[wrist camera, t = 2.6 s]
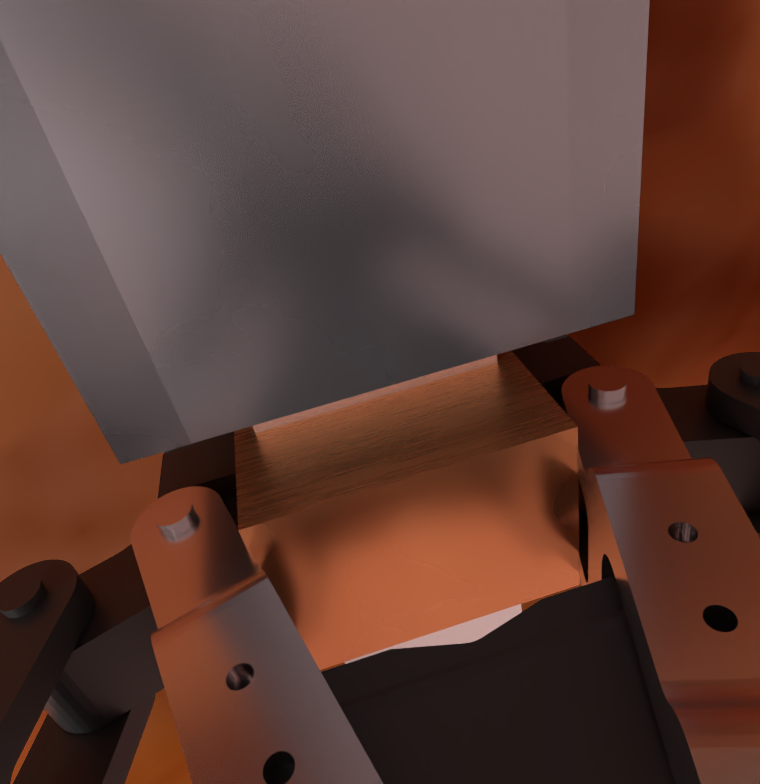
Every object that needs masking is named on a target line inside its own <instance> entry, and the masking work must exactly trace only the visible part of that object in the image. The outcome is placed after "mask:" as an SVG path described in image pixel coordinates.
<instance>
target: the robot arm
mask: <svg viewBox="0 0 760 784" xmlns="http://www.w3.org/2000/svg"><path fill="white" fill-rule="evenodd" d="M511 351H512V352H513V353H514V354H515V355H516V357H517V358H518V359H519V360H520V361H521V362H522V363H523V365H524V366H525V367H526V368H527V369H528V370H529V371H530V373H531V374H532V375H533V376H534V377H535V378H536V379H537V381H538V382H539V383H540V384H541V385H542V386H543V387H544V389H545V390H546V391H547V392H548V393H549V394H550V395H551V397H552V398H553V399H554V400H555V401H556V402H557V403H558V405H559V406H560V407H561V408H562V409H563V410H564V411H565V413H566V414H567V415H568V416H569V417H570V418H571V419H572V421H573V422H574V423H575V424H576V425H577V426H578V446H577V474H578V487H579V551H578V571H579V576H580V580H581V585H582V586H581V587H578V588H575V589H572V590H569V591H566V592H563V593H560V594H557V595H554V596H551V597H548V598H545V599H542V600H540V601H538V602H537V603H535V604H534V605H532V606H531V607H529V608H528V609H526V610H524V611H523V612H521V613H520V614H518V615H517V616H515V617H513V618H512V619H510V620H509V621H507V622H506V623H504V624H502V625H501V626H499V627H498V628H496V629H495V630H493V631H491V632H490V633H488V634H487V635H485V636H484V637H482V638H480V639H478V640H476V641H473V642H469V643H461V644H449V645H436V646H424V647H412V648H399V649H390V650H387V651H384V652H381V653H378V654H375V655H372V656H369V657H366V658H362V659H359V660H356V661H353V662H350V663H347V664H344V665H341V666H338V667H335V668H332V669H329V670H326V671H323V672H321V671H320V670H319V668H318V666H317V664H316V662H315V661H314V659H313V657H312V655H311V653H310V652H309V650H308V648H307V646H306V645H305V643H304V641H303V639H302V637H301V636H300V634H299V632H298V630H297V628H296V627H295V625H294V623H293V621H292V619H291V618H290V616H289V614H288V612H287V611H286V609H285V607H284V605H283V603H282V602H281V600H280V598H279V596H278V594H277V593H276V591H275V589H274V587H273V586H272V584H271V582H270V580H269V578H268V577H267V575H266V573H265V572H264V570H261V569H260V568H259V566H258V564H257V562H256V560H255V559H254V557H253V555H252V553H251V551H250V550H249V548H246V546H245V544H244V542H243V540H242V537H241V535H240V533H239V531H238V512H237V488H236V465H235V441H234V431H233V432H230V433H226V434H223V435H219V436H216V437H212V438H209V439H206V440H202V441H199V442H195V443H192V444H188V445H185V446H182V447H178V448H175V449H171V450H168V451H164V453H165V454H163V460H162V468H161V476H160V485H159V493H158V499H157V500H156V501H154V502H153V503H151V504H150V505H149V506H148V507H147V508H146V509H145V510H144V511H143V512H142V513H141V514H140V515H139V517H138V518H137V519H136V521H135V523H134V525H133V527H132V530H131V535H130V539H131V545H130V546H128V547H127V548H125V549H124V550H123V551H121V552H119V553H118V554H116V555H114V556H113V557H111V558H109V559H107V560H105V561H104V562H102V563H100V564H98V565H96V566H94V567H93V568H91V569H89V570H87V571H85V572H83V573H82V574H80V575H79V574H78V573H77V571H76V570H75V569H74V567H73V566H72V565H71V564H70V563H68V562H66V561H63V560H46V561H41V562H37V563H34V564H31V565H29V566H26V567H24V568H22V569H20V570H18V571H17V572H15V573H13V574H12V575H10V576H9V577H7V578H6V579H4V580H3V581H2V582H0V784H10V781H11V776H12V773H13V770H14V767H15V765H16V762H17V760H18V758H19V756H20V754H21V752H22V750H23V748H24V746H25V744H26V742H27V740H28V738H29V737H30V735H31V733H32V731H33V729H34V727H35V725H36V723H37V721H38V719H39V717H40V715H41V713H42V711H43V709H44V710H45V711H46V712H47V713H48V715H47V717H46V719H45V721H44V723H43V725H42V727H41V729H40V731H39V733H38V735H37V737H36V739H35V741H34V743H33V745H32V747H31V749H30V751H29V753H28V755H27V757H26V759H25V761H24V763H23V765H22V767H21V769H20V771H19V773H18V775H17V777H16V779H15V781H14V783H13V784H124V783H125V781H126V778H127V775H128V772H129V770H130V767H131V764H132V761H133V759H134V756H135V753H136V750H137V748H138V745H139V742H140V739H141V737H142V734H143V731H144V728H145V726H146V723H147V720H148V717H149V715H150V712H151V709H152V706H153V703H154V699H155V693H157V692H159V691H160V690H162V689H163V688H165V691H166V695H167V698H168V701H169V705H170V708H171V712H172V715H173V718H174V722H175V725H176V729H177V732H178V736H179V739H180V742H181V746H182V749H183V753H184V756H185V759H186V763H187V766H188V770H189V773H190V777H191V780H192V783H193V784H760V352H746V353H738V354H733V355H729V356H726V357H724V358H721V359H719V360H718V361H717V362H715V363H714V364H713V365H712V366H711V368H710V371H709V378H708V385H700V386H687V387H675V388H655V386H654V384H653V383H652V382H651V380H650V379H649V378H648V377H647V376H645V375H643V374H642V373H640V372H638V371H636V370H633V369H630V368H626V367H621V366H611V365H603V366H601V365H600V364H599V363H598V362H597V361H596V360H595V359H593V358H592V357H591V356H590V355H589V354H588V353H587V352H586V351H585V350H584V349H583V348H581V347H580V346H579V345H578V344H577V343H576V342H575V341H574V340H573V339H572V338H571V337H567V334H566V335H562V336H559V337H556V338H552V339H549V340H545V341H542V342H538V343H535V344H531V345H528V346H525V347H521V348H518V349H514V350H511Z"/></svg>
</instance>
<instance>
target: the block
mask: <svg viewBox="0 0 760 784" xmlns="http://www.w3.org/2000/svg"><path fill="white" fill-rule="evenodd" d="M649 3H650V0H0V253H1V255H2V257H3V259H4V260H5V262H6V264H7V266H8V267H9V269H10V271H11V273H12V274H13V276H14V278H15V280H16V281H17V283H18V285H19V287H20V289H21V290H22V292H23V294H24V296H25V297H26V299H27V301H28V303H29V304H30V306H31V308H32V310H33V311H34V313H35V315H36V317H37V318H38V320H39V322H40V324H41V325H42V327H43V329H44V331H45V332H46V334H47V336H48V338H49V339H50V341H51V343H52V345H53V346H54V348H55V350H56V352H57V353H58V355H59V357H60V359H61V360H62V362H63V364H64V366H65V367H66V369H67V371H68V373H69V374H70V376H71V378H72V380H73V381H74V383H75V385H76V387H77V388H78V390H79V392H80V394H81V395H82V397H83V399H84V401H85V402H86V404H87V406H88V408H89V409H90V411H91V413H92V415H93V416H94V418H95V420H96V422H97V424H98V425H99V427H100V429H101V431H102V432H103V434H104V436H105V438H106V439H107V441H108V443H109V445H110V446H111V448H112V450H113V452H114V453H115V455H116V457H117V459H118V460H119V462H120V464H123V463H127V462H130V461H134V460H137V459H140V458H144V457H147V456H151V455H154V454H158V453H161V452H164V451H168V450H171V449H175V448H178V447H182V446H185V445H188V444H192V443H195V442H199V441H202V440H206V439H209V438H212V437H216V436H219V435H223V434H226V433H230V432H233V431H236V430H240V429H243V428H247V427H250V426H254V425H257V424H260V423H264V422H267V421H271V420H274V419H278V418H281V417H284V416H288V415H291V414H295V413H298V412H302V411H305V410H309V409H312V408H315V407H319V406H322V405H326V404H329V403H333V402H336V401H339V400H343V399H346V398H350V397H353V396H357V395H360V394H363V393H367V392H370V391H374V390H377V389H381V388H384V387H387V386H391V385H394V384H398V383H401V382H405V381H408V380H411V379H415V378H418V377H422V376H425V375H429V374H432V373H435V372H439V371H442V370H446V369H449V368H453V367H456V366H459V365H463V364H466V363H470V362H473V361H477V360H480V359H483V358H487V357H490V356H494V355H497V354H501V353H504V352H507V351H511V350H514V349H518V348H521V347H525V346H528V345H531V344H535V343H538V342H542V341H545V340H549V339H552V338H556V337H559V336H562V335H566V334H569V333H573V332H576V331H580V330H583V329H586V328H590V327H593V326H597V325H600V324H604V323H607V322H610V321H614V320H617V319H621V318H624V317H628V316H631V315H634V310H635V290H636V269H637V249H638V228H639V208H640V188H641V167H642V147H643V126H644V106H645V85H646V65H647V44H648V24H649Z"/></svg>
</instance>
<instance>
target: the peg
mask: <svg viewBox="0 0 760 784" xmlns="http://www.w3.org/2000/svg"><path fill="white" fill-rule="evenodd" d="M234 441H235V465H236V488H237V512H238V531H239V533H240V535H241V537H242V540H243V542H244V544H245V546H246V548H249V550H250V551H251V553H252V555H253V557H254V559H255V560H256V562H257V564H258V566H259V568H260V569H261V570H264V572H265V573H266V575H267V577H268V578H269V580H270V582H271V584H272V586H273V587H274V589H275V591H276V593H277V594H278V596H279V598H280V600H281V602H282V603H283V605H284V607H285V609H286V611H287V612H288V614H289V616H290V618H291V619H292V621H293V623H294V625H295V627H296V628H297V630H298V632H299V634H300V636H301V637H302V639H303V641H304V643H305V645H306V646H307V648H308V650H309V652H310V653H311V655H312V657H313V659H314V661H315V662H316V664H317V666H318V668H319V670H321V669H324V668H327V667H330V666H333V665H336V664H339V663H343V662H345V664H347V663H350V662H353V661H356V660H359V659H362V658H366V657H369V656H372V655H375V654H378V653H381V652H384V651H387V650H390V649H399V648H412V647H424V646H436V645H449V644H461V643H469V642H473V641H476V640H478V639H480V638H482V637H484V636H485V635H487V634H488V633H490V632H491V631H493V630H495V629H496V628H498V627H499V626H501V625H502V624H504V623H506V622H507V621H509V620H510V619H512V618H513V617H515V616H517V615H518V614H520V613H521V612H522V609H521V604H522V603H525V602H528V601H531V600H534V599H537V598H540V597H543V596H546V595H549V594H552V593H555V592H559V591H562V590H565V589H568V588H571V587H574V586H577V585H580V581H579V571H578V551H579V487H578V474H577V446H578V426H577V425H576V424H575V423H574V422H573V421H572V419H571V418H570V417H569V416H568V415H567V414H566V413H565V411H564V410H563V409H562V408H561V407H560V406H559V405H558V403H557V402H556V401H555V400H554V399H553V398H552V397H551V395H550V394H549V393H548V392H547V391H546V390H545V389H544V387H543V386H542V385H541V384H540V383H539V382H538V381H537V379H536V378H535V377H534V376H533V375H532V374H531V373H530V371H529V370H528V369H527V368H526V367H525V366H524V365H523V363H522V362H521V361H520V360H519V359H518V358H517V357H516V355H515V354H514V353H513V352H512V351H507V352H504V353H501V354H497V355H494V356H490V357H487V358H483V359H480V360H477V361H473V362H470V363H466V364H463V365H459V366H456V367H453V368H449V369H446V370H442V371H439V372H435V373H432V374H429V375H425V376H422V377H418V378H415V379H411V380H408V381H405V382H401V383H398V384H394V385H391V386H387V387H384V388H381V389H377V390H374V391H370V392H367V393H363V394H360V395H357V396H353V397H350V398H346V399H343V400H339V401H336V402H333V403H329V404H326V405H322V406H319V407H315V408H312V409H309V410H305V411H302V412H298V413H295V414H291V415H288V416H284V417H281V418H278V419H274V420H271V421H267V422H264V423H260V424H257V425H254V426H250V427H247V428H243V429H240V430H236V431H234Z"/></svg>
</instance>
